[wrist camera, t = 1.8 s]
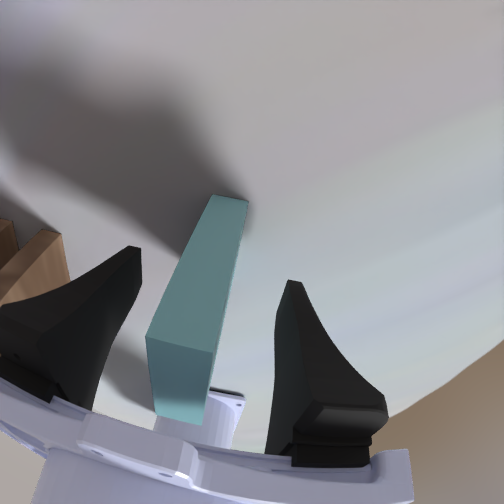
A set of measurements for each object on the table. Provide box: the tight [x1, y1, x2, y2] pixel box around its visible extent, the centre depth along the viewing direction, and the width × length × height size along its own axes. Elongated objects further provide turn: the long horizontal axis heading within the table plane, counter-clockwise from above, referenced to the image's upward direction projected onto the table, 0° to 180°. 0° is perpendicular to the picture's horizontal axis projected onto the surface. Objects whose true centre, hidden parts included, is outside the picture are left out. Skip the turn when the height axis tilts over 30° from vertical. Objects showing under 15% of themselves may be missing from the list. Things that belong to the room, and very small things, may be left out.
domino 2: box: [0, 229, 71, 356], centre depth 15 cm, size 2×5×9 cm, turn 169°
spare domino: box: [145, 194, 248, 426], centre depth 13 cm, size 2×5×9 cm, turn 169°
